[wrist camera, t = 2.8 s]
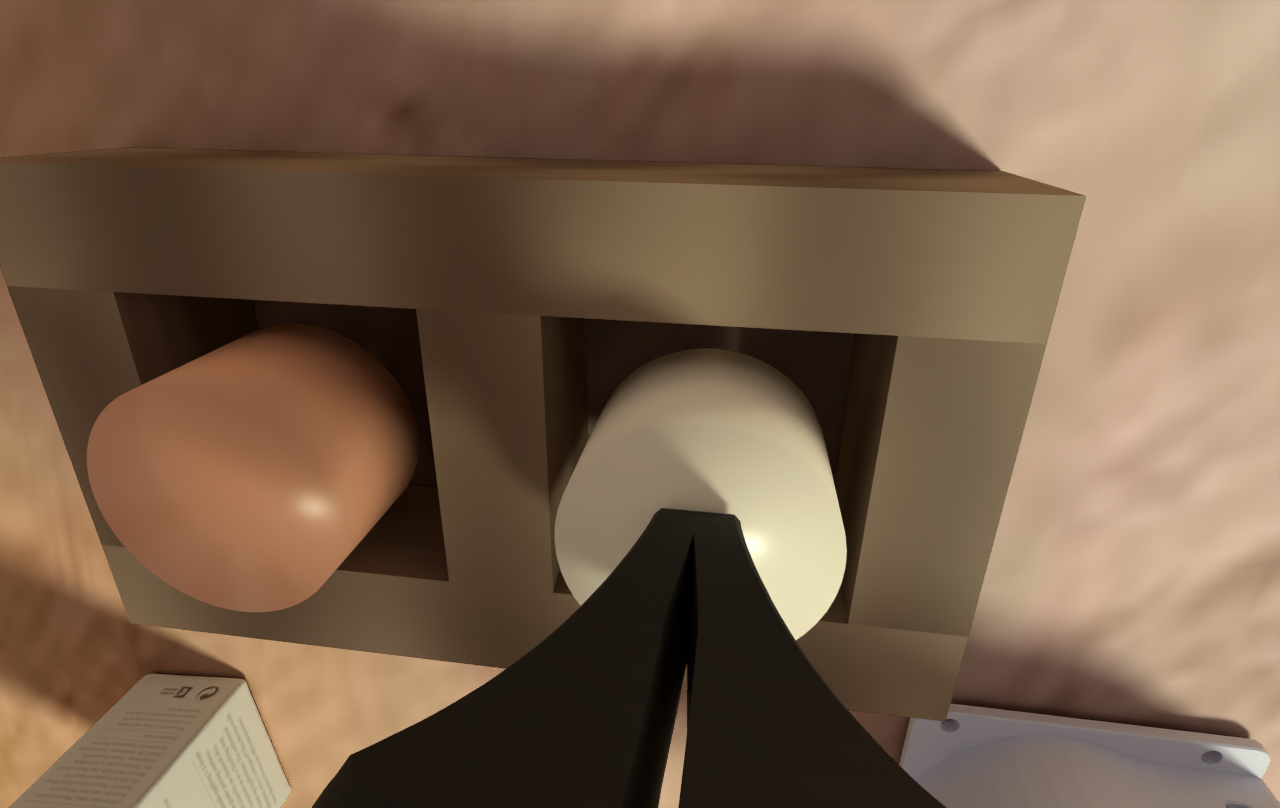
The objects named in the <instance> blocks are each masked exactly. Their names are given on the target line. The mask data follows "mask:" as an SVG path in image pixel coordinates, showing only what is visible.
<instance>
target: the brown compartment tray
mask: <svg viewBox="0 0 1280 808" xmlns="http://www.w3.org/2000/svg"><path fill="white" fill-rule="evenodd" d="M1085 198H1086V196H1085V195H1081V194H1078V193H1074V192H1071V191H1068V190H1064V189H1061V188H1058V187H1054V186H1051V185H1048V184H1044V183H1041V182H1037V181H1034V180H1031V179H1027V178H1024V177H1021V176H1017V175H1014V174H1011V173H1007V172H1004V171H976V170H939V169H902V168H865V167H829V166H792V165H755V164H718V163H682V162H645V161H608V160H571V159H535V158H498V157H461V156H424V155H388V154H351V153H314V152H277V151H241V150H204V149H167V148H130V147H125V148H113V149H101V150H89V151H77V152H65V153H53V154H41V155H29V156H17V157H5V158H0V268H1V271H2V274H3V276H4V279H5V282H6V285H7V287H8V290H9V293H10V296H11V298H12V301H13V304H14V307H15V309H16V312H17V315H18V317H19V320H20V323H21V326H22V328H23V331H24V334H25V337H26V339H27V342H28V345H29V348H30V350H31V353H32V356H33V358H34V361H35V364H36V367H37V369H38V372H39V375H40V378H41V380H42V383H43V386H44V389H45V391H46V394H47V397H48V399H49V402H50V405H51V408H52V410H53V413H54V416H55V419H56V421H57V424H58V427H59V430H60V432H61V435H62V438H63V440H64V443H65V446H66V449H67V451H68V454H69V457H70V460H71V462H72V465H73V468H74V471H75V473H76V476H77V479H78V481H79V484H80V487H81V490H82V492H83V495H84V498H85V501H86V503H87V506H88V509H89V511H90V514H91V517H92V520H93V522H94V525H95V528H96V531H97V533H98V536H99V539H100V542H101V544H102V547H103V550H104V552H105V555H106V558H107V561H108V563H109V566H110V569H111V572H112V574H113V577H114V580H115V583H116V585H117V588H118V591H119V593H120V596H121V599H122V602H123V604H124V607H125V610H126V613H127V615H128V618H129V621H130V623H134V624H142V625H150V626H158V627H167V628H175V629H183V630H191V631H200V632H208V633H216V634H224V635H233V636H241V637H249V638H258V639H266V640H274V641H282V642H291V643H299V644H307V645H315V646H324V647H332V648H340V649H348V650H357V651H365V652H373V653H382V654H390V655H398V656H406V657H415V658H423V659H431V660H439V661H448V662H456V663H464V664H473V665H481V666H489V667H497V668H506V669H507V668H508V667H510V666H511V665H512V664H514V663H515V662H516V661H517V660H519V659H520V658H521V657H523V656H524V655H525V654H527V653H528V652H529V651H531V650H532V649H533V648H534V647H536V646H537V645H538V644H539V643H541V642H542V641H543V640H544V639H545V638H547V637H548V636H549V635H550V634H551V633H552V632H554V631H555V630H556V629H557V628H558V627H559V626H560V625H561V624H563V623H564V622H565V621H566V620H567V619H568V618H569V617H570V616H571V615H572V614H573V613H574V612H575V611H576V610H577V609H578V608H579V607H580V606H581V605H580V604H579V603H578V602H577V600H576V599H575V598H574V596H573V594H572V593H571V591H570V589H569V588H568V586H567V584H566V582H565V580H564V577H563V575H562V573H561V570H560V567H559V563H558V559H557V556H556V548H555V540H554V538H555V521H556V516H557V511H558V507H559V504H560V502H561V499H562V496H563V493H564V491H565V489H566V487H567V485H568V483H569V480H570V478H571V476H572V474H573V472H574V470H575V467H576V465H577V463H578V461H579V459H580V457H581V454H582V452H583V450H584V448H585V446H586V444H587V442H588V408H587V355H586V318H589V319H607V320H625V321H643V322H661V323H679V324H697V325H714V326H732V327H750V328H768V329H786V330H804V331H822V332H840V333H857V335H856V342H855V348H854V355H853V362H852V369H851V375H850V382H849V389H848V396H847V402H846V409H845V416H844V423H843V429H842V436H841V443H840V449H839V456H838V463H837V470H836V476H835V483H834V485H835V490H836V494H837V499H838V503H839V508H840V512H841V517H842V521H843V526H844V530H845V535H846V547H847V555H846V568H845V572H844V576H843V580H842V583H841V586H840V588H839V590H838V593H837V595H836V597H835V599H834V601H833V602H832V604H831V606H830V607H829V609H828V610H827V612H826V613H825V614H824V615H823V617H822V618H821V619H820V620H819V621H818V622H817V624H816V625H814V626H813V627H812V628H811V629H810V630H809V631H808V632H807V633H805V634H804V635H803V636H801V637H800V638H799V639H797V640H796V642H797V643H798V645H799V646H800V648H801V649H802V651H803V652H804V654H805V655H806V657H807V658H808V659H809V661H810V662H811V664H812V665H813V666H814V668H815V669H816V670H817V672H818V673H819V675H820V676H821V677H822V679H823V680H824V681H825V683H826V684H827V685H828V686H829V688H830V689H831V690H832V691H833V693H834V694H835V695H836V696H837V698H838V699H839V700H840V701H841V703H842V704H843V705H844V706H845V708H846V709H847V710H853V711H861V712H869V713H878V714H886V715H894V716H902V717H911V718H919V719H927V720H936V721H944V722H946V718H947V714H948V711H949V707H950V703H951V700H952V696H953V692H954V688H955V685H956V681H957V677H958V673H959V670H960V666H961V662H962V658H963V655H964V651H965V647H966V643H967V640H968V636H969V632H970V628H971V625H972V621H973V617H974V613H975V610H976V606H977V602H978V599H979V595H980V591H981V587H982V584H983V580H984V576H985V572H986V569H987V565H988V561H989V557H990V554H991V550H992V546H993V542H994V539H995V535H996V531H997V527H998V524H999V520H1000V516H1001V512H1002V509H1003V505H1004V501H1005V498H1006V494H1007V490H1008V486H1009V483H1010V479H1011V475H1012V471H1013V468H1014V464H1015V460H1016V456H1017V453H1018V449H1019V445H1020V441H1021V438H1022V434H1023V430H1024V426H1025V423H1026V419H1027V415H1028V411H1029V408H1030V404H1031V400H1032V397H1033V393H1034V389H1035V385H1036V382H1037V378H1038V374H1039V370H1040V367H1041V363H1042V359H1043V355H1044V352H1045V348H1046V344H1047V340H1048V337H1049V333H1050V329H1051V325H1052V322H1053V318H1054V314H1055V311H1056V307H1057V303H1058V299H1059V296H1060V292H1061V288H1062V284H1063V281H1064V277H1065V273H1066V269H1067V266H1068V262H1069V258H1070V254H1071V251H1072V247H1073V243H1074V239H1075V236H1076V232H1077V228H1078V224H1079V221H1080V217H1081V213H1082V210H1083V206H1084V202H1085ZM251 300H267V301H285V302H303V303H321V304H339V305H356V306H374V307H392V308H410V309H416V314H417V322H418V330H419V339H420V347H421V355H422V363H423V371H424V379H425V388H426V396H427V404H428V412H429V420H430V429H431V437H432V445H433V453H434V461H435V470H436V478H437V486H438V487H429V486H418V485H408V486H407V488H406V490H405V491H404V492H403V493H402V494H401V495H400V497H399V498H398V499H397V500H396V501H395V502H394V503H393V505H392V506H391V507H390V508H389V509H388V510H387V511H386V513H385V514H384V515H383V516H382V517H381V518H380V520H379V521H378V522H377V523H376V524H375V525H374V526H373V528H372V529H371V530H370V531H369V532H368V533H367V535H366V536H365V537H364V538H363V539H362V540H361V541H360V543H359V544H358V545H357V546H356V547H355V548H354V549H353V551H352V552H351V553H350V554H349V555H348V556H347V558H346V559H345V560H344V561H343V562H342V563H341V564H340V566H339V567H338V568H337V569H336V570H335V571H334V573H333V574H332V575H331V576H330V577H329V578H328V579H327V581H326V582H325V583H324V584H323V585H322V586H321V587H320V588H319V590H318V591H317V592H316V593H314V594H313V595H312V596H310V597H309V598H308V599H306V600H304V601H302V602H301V603H299V604H297V605H294V606H292V607H289V608H286V609H282V610H277V611H271V612H257V613H256V612H241V611H235V610H229V609H224V608H221V607H217V606H214V605H210V604H208V603H205V602H202V601H200V600H197V599H195V598H193V597H191V596H189V595H187V594H184V593H182V592H181V591H179V590H177V589H175V588H174V587H172V586H170V585H169V584H167V583H166V582H164V581H163V580H161V579H160V578H159V577H157V576H156V575H154V574H153V573H152V572H151V571H149V570H148V569H147V568H146V567H145V566H143V565H142V564H141V563H140V562H139V561H138V560H137V559H136V558H135V557H134V556H133V555H132V554H131V553H130V552H129V551H128V550H127V549H126V548H125V546H124V545H123V544H122V543H121V542H120V540H119V539H118V538H117V537H116V535H115V534H114V532H113V531H112V530H111V528H110V527H109V525H108V524H107V522H106V520H105V518H104V517H103V515H102V513H101V511H100V509H99V507H98V505H97V502H96V500H95V497H94V495H93V492H92V488H91V485H90V481H89V476H88V469H87V447H88V441H89V437H90V434H91V431H92V428H93V425H94V423H95V422H96V420H97V418H98V416H99V415H100V413H101V412H102V411H103V410H104V409H105V408H106V407H107V405H108V404H110V403H111V402H112V401H113V400H115V399H116V398H117V397H119V396H121V395H123V394H124V393H126V392H128V391H130V390H132V389H134V388H137V387H139V386H141V385H143V384H145V383H147V382H149V381H151V380H153V379H155V378H158V377H160V376H162V375H164V374H166V373H168V372H170V371H172V370H174V369H176V368H178V367H181V366H183V365H185V364H187V363H189V362H191V361H193V360H195V359H197V358H199V357H201V356H204V355H206V354H208V353H210V352H212V351H214V350H216V349H218V348H220V347H222V346H224V345H227V344H229V343H231V342H233V341H235V340H237V339H239V338H241V337H243V336H245V335H247V334H250V333H252V332H254V331H256V330H258V328H257V323H256V319H255V314H254V310H253V305H252V301H251ZM682 690H687V665H686V670H685V675H684V680H683V685H682Z"/></svg>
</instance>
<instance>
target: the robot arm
mask: <svg viewBox="0 0 1280 808" xmlns="http://www.w3.org/2000/svg"><path fill="white" fill-rule="evenodd" d="M686 665H687V740H686V749H685V758H684V766H683V775H682V783H681V792H680V800H679V808H1280V803H1279V801H1278V800H1277V799H1276V797H1275V796H1274V795H1273V793H1272V792H1271V791H1270V789H1269V788H1268V787H1267V785H1266V784H1265V783H1264V781H1263V780H1262V779H1261V778H1262V776H1263V774H1264V773H1265V771H1266V769H1267V767H1268V765H1269V764H1270V760H1271V757H1270V755H1269V753H1268V752H1267V750H1266V749H1265V748H1264V747H1263V745H1262V744H1261V743H1259V742H1258V741H1256V740H1253V739H1248V738H1239V737H1231V736H1222V735H1214V734H1205V733H1197V732H1188V731H1180V730H1171V729H1163V728H1154V727H1146V726H1137V725H1129V724H1120V723H1112V722H1103V721H1095V720H1086V719H1078V718H1070V717H1061V716H1053V715H1044V714H1036V713H1027V712H1019V711H1010V710H1002V709H993V708H985V707H976V706H968V705H959V704H951V703H950V707H949V711H948V714H947V718H946V719H952V720H950V721H946V722H944V721H936V720H927V719H919V718H911V717H910V721H909V725H908V730H907V734H906V738H905V742H904V746H903V751H902V755H901V759H900V763H899V764H897V763H896V762H895V761H894V760H893V759H892V758H891V757H890V756H889V755H888V754H887V753H886V752H885V750H884V749H883V748H882V747H881V746H880V745H879V744H878V743H877V742H876V741H875V740H874V738H873V737H872V736H871V735H870V734H869V733H868V732H867V731H866V730H865V729H864V727H863V726H862V725H861V724H860V723H859V722H858V721H857V720H856V719H855V718H854V716H853V715H852V714H851V713H850V712H849V711H848V710H847V709H846V708H845V706H844V705H843V704H842V703H841V701H840V700H839V699H838V698H837V696H836V695H835V694H834V693H833V691H832V690H831V689H830V688H829V686H828V685H827V684H826V683H825V681H824V680H823V679H822V677H821V676H820V675H819V673H818V672H817V670H816V669H815V668H814V666H813V665H812V664H811V662H810V661H809V659H808V658H807V657H806V655H805V654H804V652H803V651H802V649H801V648H800V646H799V645H798V643H797V642H796V640H795V639H794V637H793V635H792V634H791V632H790V630H789V629H788V627H787V625H786V624H785V622H784V620H783V619H782V617H781V615H780V614H779V612H778V610H777V608H776V607H775V605H774V603H773V601H772V599H771V597H770V595H769V593H768V591H767V589H766V587H765V585H764V583H763V581H762V579H761V577H760V575H759V573H758V571H757V569H756V567H755V564H754V562H753V560H752V557H751V555H750V552H749V550H748V547H747V544H746V541H745V538H744V535H743V532H742V528H741V522H740V520H739V519H738V518H737V517H736V516H735V515H734V514H723V513H712V512H701V511H690V510H678V509H667V508H661V509H660V510H658V511H657V512H656V513H655V514H654V515H653V517H652V519H651V521H650V522H649V524H648V525H647V527H646V529H645V530H644V532H643V533H642V534H641V536H640V537H639V539H638V540H637V541H636V543H635V544H634V545H633V547H632V548H631V550H630V551H629V552H628V553H627V555H626V556H625V557H624V558H623V559H622V561H621V562H620V563H619V564H618V566H617V567H616V568H615V569H614V570H613V572H612V573H611V574H610V575H609V576H608V578H607V579H606V580H605V581H604V582H603V583H602V584H601V585H600V586H599V587H598V588H597V589H596V591H595V592H594V593H593V594H592V595H591V596H590V597H589V598H588V599H587V600H586V601H585V602H584V603H583V604H582V605H581V606H580V607H579V608H578V609H577V610H576V611H575V612H574V613H573V614H572V615H571V616H570V617H569V618H568V619H567V620H566V621H565V622H564V623H563V624H561V625H560V626H559V627H558V628H557V629H556V630H555V631H554V632H552V633H551V634H550V635H549V636H548V637H547V638H545V639H544V640H543V641H542V642H541V643H539V644H538V645H537V646H536V647H534V648H533V649H532V650H531V651H529V652H528V653H527V654H525V655H524V656H523V657H521V658H520V659H519V660H517V661H516V662H515V663H514V664H512V665H511V666H510V667H508V668H507V669H506V670H504V671H503V672H501V673H500V674H498V675H497V676H496V677H494V678H493V679H491V680H490V681H488V682H487V683H485V684H484V685H482V686H481V687H479V688H477V689H476V690H474V691H472V692H471V693H469V694H468V695H466V696H464V697H463V698H461V699H459V700H458V701H456V702H454V703H453V704H451V705H449V706H448V707H446V708H444V709H442V710H441V711H439V712H437V713H435V714H433V715H432V716H430V717H428V718H426V719H424V720H422V721H420V722H418V723H416V724H414V725H412V726H410V727H408V728H406V729H404V730H402V731H400V732H398V733H396V734H394V735H392V736H390V737H388V738H386V739H384V740H382V741H379V742H377V743H375V744H373V745H371V746H369V747H367V748H365V749H363V750H360V751H358V752H356V753H354V754H351V755H350V756H349V757H348V759H347V760H346V762H345V763H344V765H343V766H342V767H341V769H340V770H339V772H338V773H337V774H336V775H335V777H334V778H333V779H332V780H331V782H330V783H329V784H328V785H327V787H326V788H325V789H324V791H323V792H322V794H321V795H320V796H319V798H318V799H317V801H316V802H315V804H314V805H313V806H312V808H658V805H659V799H660V793H661V787H662V782H663V777H664V772H665V768H666V763H667V758H668V753H669V748H670V743H671V738H672V734H673V729H674V724H675V719H676V714H677V709H678V705H679V700H680V695H681V690H682V685H683V680H684V675H685V670H686Z"/></svg>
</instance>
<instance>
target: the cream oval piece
mask: <svg viewBox="0 0 1280 808" xmlns="http://www.w3.org/2000/svg"><path fill="white" fill-rule="evenodd" d="M661 508H667V509H678V510H690V511H701V512H712V513H723V514H734V515H735V516H736V517H737V518H738V519H739V520H740V522H741V528H742V532H743V535H744V538H745V541H746V544H747V547H748V550H749V552H750V555H751V557H752V560H753V562H754V564H755V567H756V569H757V571H758V573H759V575H760V577H761V579H762V581H763V583H764V585H765V587H766V589H767V591H768V593H769V595H770V597H771V599H772V601H773V603H774V605H775V607H776V608H777V610H778V612H779V614H780V615H781V617H782V619H783V620H784V622H785V624H786V625H787V627H788V629H789V630H790V632H791V634H792V635H793V637H794V639H795V640H797V639H799V638H800V637H801V636H803V635H804V634H805V633H807V632H808V631H809V630H810V629H811V628H812V627H813V626H814V625H816V624H817V622H818V621H819V620H820V619H821V618H822V617H823V615H824V614H825V613H826V612H827V610H828V609H829V607H830V606H831V604H832V602H833V601H834V599H835V597H836V595H837V593H838V590H839V588H840V586H841V583H842V580H843V576H844V572H845V568H846V555H847V547H846V535H845V530H844V526H843V521H842V517H841V512H840V508H839V503H838V499H837V494H836V490H835V485H834V481H833V476H832V472H831V467H830V463H829V458H828V454H827V449H826V445H825V440H824V436H823V432H822V428H821V425H820V422H819V420H818V417H817V415H816V412H815V411H814V409H813V407H812V405H811V404H810V402H809V400H808V399H807V398H806V396H805V395H804V394H803V393H802V391H801V390H800V389H799V388H798V387H797V386H796V385H795V384H794V383H793V382H792V381H791V380H790V379H789V378H788V377H787V376H785V375H784V374H782V373H781V372H780V371H778V370H777V369H776V368H774V367H772V366H770V365H768V364H767V363H765V362H763V361H761V360H759V359H756V358H754V357H751V356H748V355H746V354H742V353H738V352H734V351H730V350H722V349H714V348H703V349H690V350H682V351H678V352H674V353H670V354H666V355H664V356H661V357H659V358H656V359H654V360H652V361H650V362H648V363H646V364H644V365H643V366H641V367H639V368H638V369H636V370H635V371H634V372H632V373H631V374H630V375H628V376H627V377H626V378H625V379H624V380H623V381H622V382H621V383H620V384H619V385H618V386H617V387H616V389H615V390H614V391H613V393H612V394H611V395H610V397H609V398H608V400H607V402H606V404H605V406H604V407H603V409H602V411H601V413H600V416H599V418H598V420H597V422H596V424H595V426H594V429H593V431H592V433H591V435H590V437H589V439H588V442H587V444H586V446H585V448H584V450H583V452H582V454H581V457H580V459H579V461H578V463H577V465H576V467H575V470H574V472H573V474H572V476H571V478H570V480H569V483H568V485H567V487H566V489H565V491H564V493H563V496H562V499H561V502H560V504H559V507H558V511H557V516H556V521H555V538H554V540H555V548H556V556H557V559H558V563H559V567H560V570H561V573H562V575H563V577H564V580H565V582H566V584H567V586H568V588H569V589H570V591H571V593H572V594H573V596H574V598H575V599H576V600H577V602H578V603H579V604H580V605H582V604H583V603H584V602H585V601H586V600H587V599H588V598H589V597H590V596H591V595H592V594H593V593H594V592H595V591H596V589H597V588H598V587H599V586H600V585H601V584H602V583H603V582H604V581H605V580H606V579H607V578H608V576H609V575H610V574H611V573H612V572H613V570H614V569H615V568H616V567H617V566H618V564H619V563H620V562H621V561H622V559H623V558H624V557H625V556H626V555H627V553H628V552H629V551H630V550H631V548H632V547H633V545H634V544H635V543H636V541H637V540H638V539H639V537H640V536H641V534H642V533H643V532H644V530H645V529H646V527H647V525H648V524H649V522H650V521H651V519H652V517H653V515H654V514H655V513H656V512H657V511H658V510H660V509H661Z"/></svg>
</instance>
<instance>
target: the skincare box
mask: <svg viewBox="0 0 1280 808" xmlns="http://www.w3.org/2000/svg"><path fill="white" fill-rule="evenodd" d="M290 792H291V788H290V785H289V783H288V781H287V779H286V776H285V774H284V772H283V769H282V767H281V765H280V762H279V760H278V757H277V755H276V753H275V750H274V748H273V745H272V743H271V741H270V738H269V736H268V733H267V731H266V729H265V726H264V724H263V722H262V720H261V717H260V715H259V712H258V710H257V707H256V705H255V703H254V700H253V698H252V695H251V693H250V690H249V688H248V685H247V683H246V681H245V680H243V679H237V678H224V677H202V676H182V675H167V674H147V675H145V676H144V677H143V678H141V679H140V680H139V681H138V682H137V683H136V684H135V685H134V686H133V687H132V688H131V689H130V690H129V691H128V692H127V693H126V694H125V695H124V696H123V697H122V698H121V699H120V700H119V701H118V702H117V703H116V704H115V705H114V706H113V707H112V708H111V709H110V710H109V711H108V712H107V713H105V714H104V715H103V716H102V717H101V718H100V719H99V720H98V721H97V722H96V723H95V724H94V725H93V726H92V727H91V728H90V729H89V730H88V731H87V732H86V733H85V734H84V735H83V736H82V737H81V738H80V739H79V740H78V741H77V742H76V743H75V744H74V745H73V746H72V747H71V748H69V749H68V750H67V751H66V752H65V753H64V754H63V755H62V756H61V757H60V758H59V759H58V760H57V761H56V762H55V763H54V764H53V765H52V766H51V767H50V768H49V769H48V770H47V771H46V772H45V773H44V774H43V775H42V776H41V777H40V778H39V779H38V780H37V781H36V782H35V783H34V784H33V785H32V786H31V787H30V788H29V789H28V790H26V791H25V792H24V793H23V794H22V795H21V796H20V797H19V798H18V799H17V800H16V801H15V802H14V803H13V804H12V805H11V806H10V807H9V808H281V806H282V805H283V803H284V802H285V800H286V799H287V797H288V796H289V794H290Z"/></svg>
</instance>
